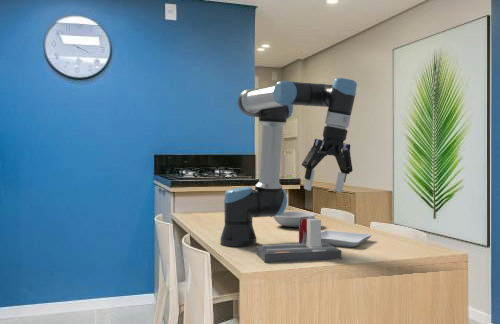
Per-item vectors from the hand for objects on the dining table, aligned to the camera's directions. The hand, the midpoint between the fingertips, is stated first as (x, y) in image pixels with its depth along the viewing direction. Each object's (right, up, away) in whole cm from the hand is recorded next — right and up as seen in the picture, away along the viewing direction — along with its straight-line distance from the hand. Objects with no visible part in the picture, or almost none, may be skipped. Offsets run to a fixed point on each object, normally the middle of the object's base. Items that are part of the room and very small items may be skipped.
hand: (323, 190), depth 148 cm
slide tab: (-1, -22, +17) cm, 28 cm away
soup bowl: (-1, -24, +87) cm, 91 cm away
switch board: (-7, -25, +16) cm, 30 cm away
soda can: (-1, -25, +33) cm, 42 cm away
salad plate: (+14, -25, +44) cm, 52 cm away
